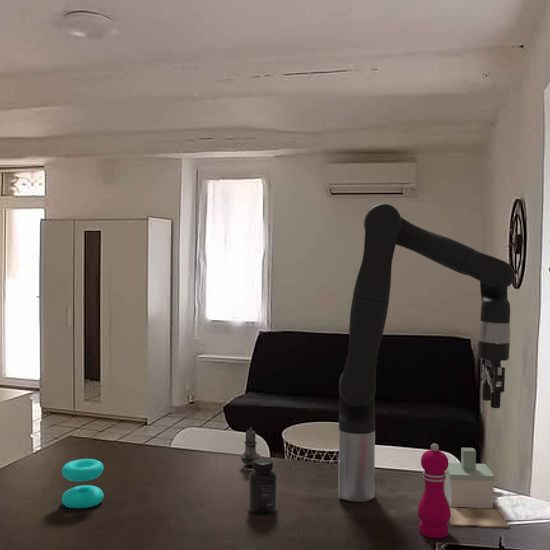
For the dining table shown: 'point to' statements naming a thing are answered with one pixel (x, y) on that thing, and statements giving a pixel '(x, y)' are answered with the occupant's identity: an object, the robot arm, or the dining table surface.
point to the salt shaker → (250, 450)
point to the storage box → (469, 493)
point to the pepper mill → (434, 495)
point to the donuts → (85, 493)
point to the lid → (469, 468)
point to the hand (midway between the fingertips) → (490, 404)
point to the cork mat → (477, 518)
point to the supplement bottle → (262, 487)
